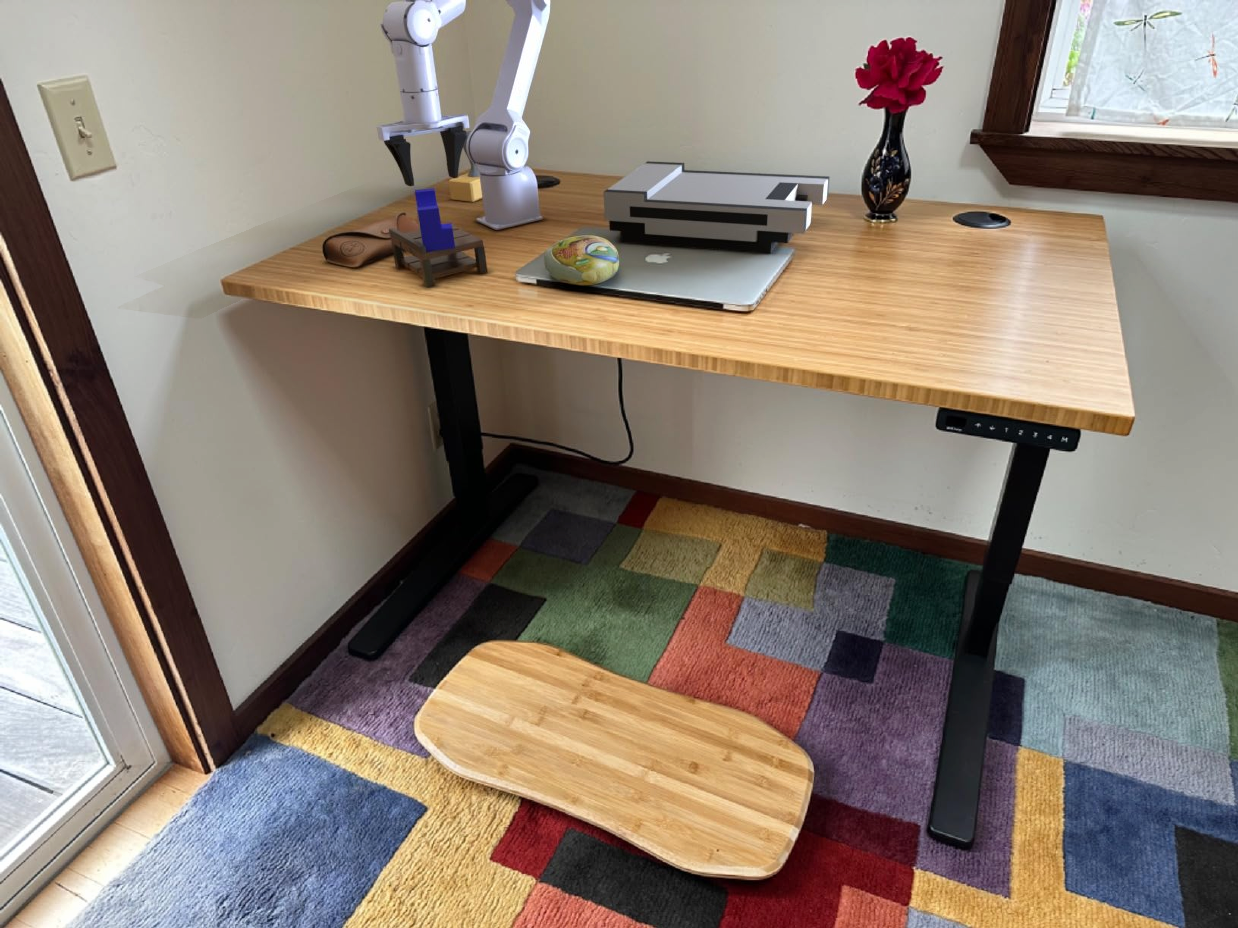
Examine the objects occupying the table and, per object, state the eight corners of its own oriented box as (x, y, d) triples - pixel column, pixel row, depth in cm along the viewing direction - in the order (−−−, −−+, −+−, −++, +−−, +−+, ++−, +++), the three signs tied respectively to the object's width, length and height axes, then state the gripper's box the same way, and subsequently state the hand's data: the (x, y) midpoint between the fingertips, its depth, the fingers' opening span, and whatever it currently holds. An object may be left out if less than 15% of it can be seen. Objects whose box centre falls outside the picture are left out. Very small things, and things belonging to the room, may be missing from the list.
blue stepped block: (455, 248, 126) (449, 207, 123) (424, 252, 125) (417, 210, 122) (449, 226, 136) (444, 187, 133) (421, 229, 135) (414, 190, 132)
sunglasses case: (357, 266, 135) (335, 227, 134) (337, 282, 140) (316, 245, 139) (440, 235, 147) (421, 199, 146) (419, 251, 152) (400, 216, 151)
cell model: (620, 242, 133) (625, 233, 118) (612, 292, 135) (615, 290, 120) (551, 230, 133) (546, 220, 118) (543, 281, 134) (538, 277, 119)
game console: (802, 257, 131) (805, 203, 126) (606, 242, 141) (603, 191, 137) (826, 218, 147) (830, 169, 143) (648, 208, 158) (647, 161, 153)
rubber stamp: (473, 202, 167) (464, 137, 160) (450, 199, 169) (440, 135, 163) (504, 189, 174) (497, 126, 168) (481, 187, 177) (473, 125, 170)
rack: (453, 253, 140) (447, 215, 137) (487, 272, 132) (482, 232, 128) (395, 267, 136) (388, 228, 132) (427, 288, 127) (420, 246, 124)
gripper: (383, 98, 126) (399, 193, 133) (473, 87, 133) (483, 178, 140) (366, 93, 131) (382, 185, 138) (453, 83, 138) (464, 170, 145)
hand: (431, 181), depth 139 cm, fingers open, 7 cm apart
